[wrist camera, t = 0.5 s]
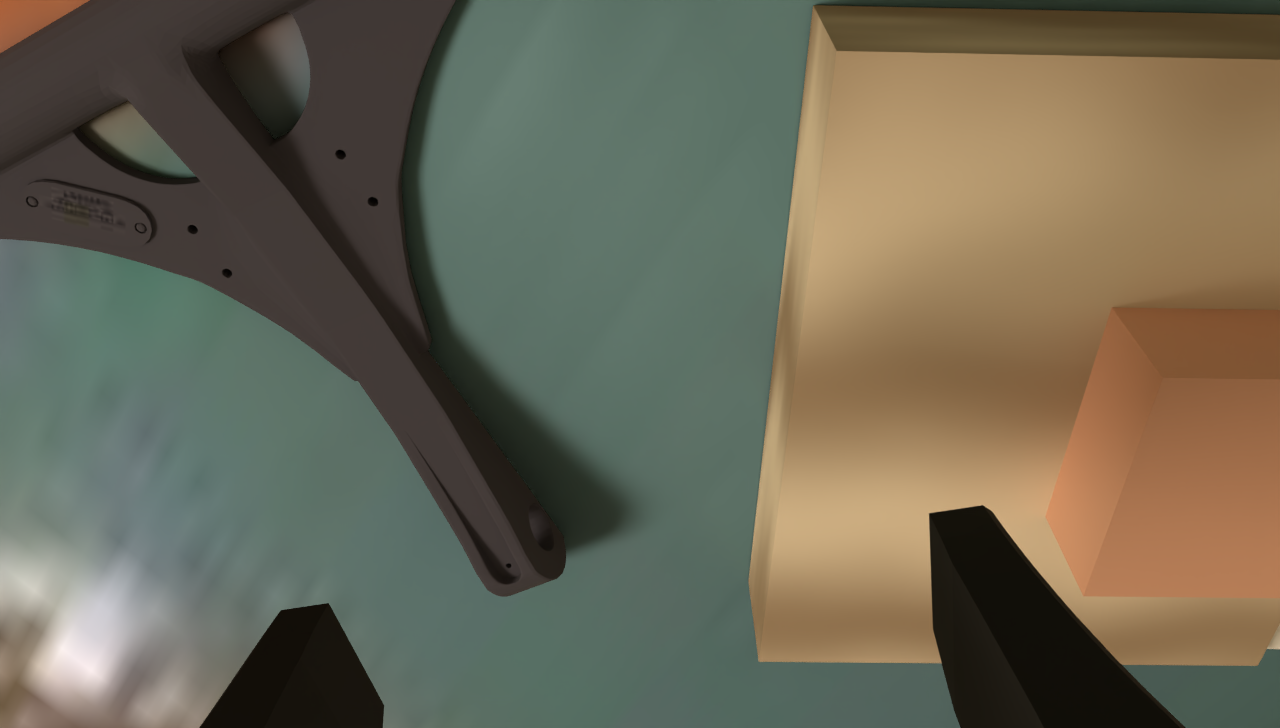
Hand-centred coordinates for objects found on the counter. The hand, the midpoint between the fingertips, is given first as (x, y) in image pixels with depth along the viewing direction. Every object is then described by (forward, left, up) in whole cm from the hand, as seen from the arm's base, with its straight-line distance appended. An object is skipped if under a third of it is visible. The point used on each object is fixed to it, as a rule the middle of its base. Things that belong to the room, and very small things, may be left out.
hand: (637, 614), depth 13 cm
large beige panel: (-2, -9, -10) cm, 13 cm away
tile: (-2, -11, -7) cm, 13 cm away
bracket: (-2, +6, -11) cm, 12 cm away
